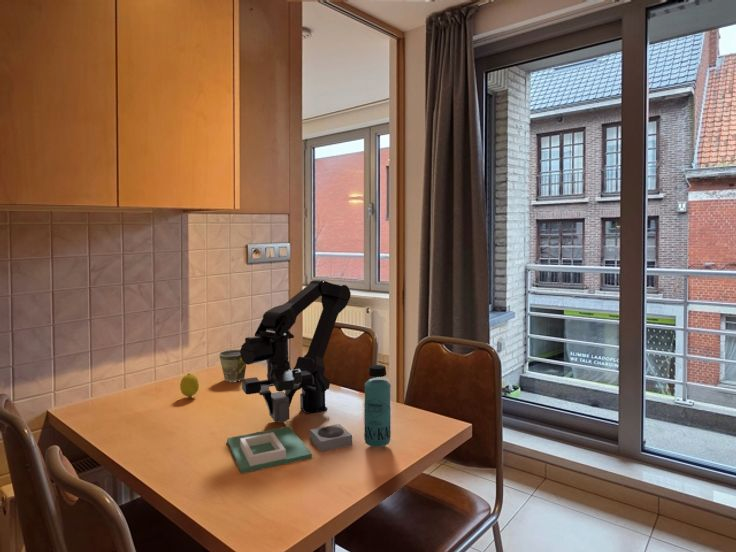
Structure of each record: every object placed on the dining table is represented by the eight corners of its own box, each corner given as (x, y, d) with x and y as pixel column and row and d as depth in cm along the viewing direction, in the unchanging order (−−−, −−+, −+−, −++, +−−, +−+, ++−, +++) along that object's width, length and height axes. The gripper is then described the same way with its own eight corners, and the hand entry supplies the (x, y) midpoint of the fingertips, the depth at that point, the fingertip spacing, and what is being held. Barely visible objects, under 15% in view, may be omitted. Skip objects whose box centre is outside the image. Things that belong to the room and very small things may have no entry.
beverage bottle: (363, 442, 116) (362, 362, 115) (389, 441, 117) (389, 361, 116) (365, 454, 110) (364, 370, 108) (393, 452, 111) (392, 369, 109)
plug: (283, 412, 133) (282, 391, 132) (290, 420, 126) (290, 398, 126) (269, 414, 131) (268, 393, 131) (275, 423, 125) (275, 401, 124)
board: (289, 430, 124) (289, 419, 124) (312, 457, 108) (311, 445, 108) (227, 441, 117) (226, 430, 117) (241, 473, 101) (241, 460, 101)
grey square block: (339, 433, 122) (339, 423, 122) (352, 445, 115) (352, 434, 115) (310, 439, 119) (310, 428, 118) (321, 451, 111) (321, 440, 111)
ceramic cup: (214, 380, 170) (214, 352, 169) (239, 374, 177) (238, 348, 177) (234, 387, 161) (233, 358, 161) (259, 381, 169) (258, 353, 168)
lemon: (202, 395, 153) (201, 371, 152) (191, 401, 148) (190, 376, 147) (188, 394, 155) (187, 370, 154) (176, 399, 149) (175, 375, 149)
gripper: (249, 368, 117) (251, 429, 118) (320, 359, 125) (321, 416, 126) (240, 358, 127) (242, 414, 128) (306, 350, 135) (308, 403, 136)
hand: (279, 412), depth 129 cm, fingers closed on plug, 4 cm apart
